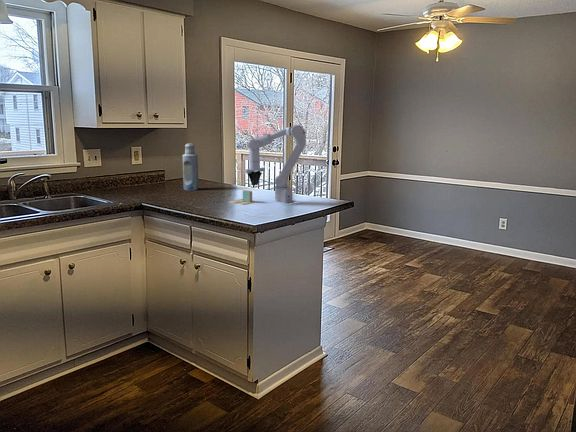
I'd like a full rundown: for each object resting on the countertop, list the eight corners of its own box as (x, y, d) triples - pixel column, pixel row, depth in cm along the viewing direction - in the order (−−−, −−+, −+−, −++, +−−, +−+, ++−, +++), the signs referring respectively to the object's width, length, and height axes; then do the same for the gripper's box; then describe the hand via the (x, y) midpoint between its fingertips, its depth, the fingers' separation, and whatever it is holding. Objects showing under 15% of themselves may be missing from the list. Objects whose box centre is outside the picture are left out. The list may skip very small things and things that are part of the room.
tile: (252, 201, 271) (252, 191, 270) (250, 202, 270) (250, 191, 269) (244, 200, 275) (244, 190, 274) (242, 201, 274) (242, 190, 273)
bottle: (180, 190, 319) (178, 143, 313) (188, 188, 328) (186, 143, 322) (194, 190, 316) (192, 144, 310) (201, 188, 325) (199, 143, 319)
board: (260, 203, 272) (260, 201, 272) (244, 206, 263) (244, 204, 262) (243, 200, 281) (243, 198, 281) (226, 203, 271) (226, 201, 271)
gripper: (258, 159, 281) (258, 183, 283) (240, 161, 270) (240, 185, 273) (267, 160, 276) (267, 184, 279) (249, 162, 265) (249, 187, 268)
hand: (254, 185), depth 275 cm, fingers closed
